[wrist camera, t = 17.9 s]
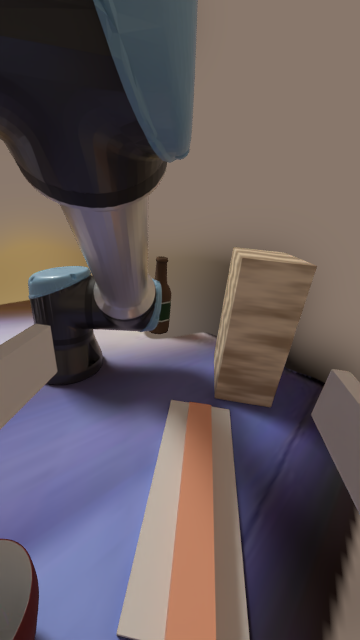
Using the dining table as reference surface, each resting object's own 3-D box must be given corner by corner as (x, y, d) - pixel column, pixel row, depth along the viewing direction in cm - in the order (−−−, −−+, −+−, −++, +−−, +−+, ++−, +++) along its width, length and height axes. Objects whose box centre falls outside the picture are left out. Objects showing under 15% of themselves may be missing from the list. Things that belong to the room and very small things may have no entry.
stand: (214, 355, 67) (233, 247, 55) (256, 361, 66) (285, 252, 54) (214, 398, 50) (242, 257, 39) (270, 407, 49) (317, 266, 38)
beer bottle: (173, 328, 81) (179, 258, 71) (161, 336, 74) (167, 260, 65) (153, 322, 83) (157, 254, 74) (141, 330, 77) (143, 256, 67)
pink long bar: (187, 417, 44) (189, 401, 43) (208, 421, 44) (211, 404, 42) (153, 739, 17) (157, 727, 15) (209, 753, 16) (218, 742, 15)
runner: (171, 401, 48) (171, 399, 48) (228, 411, 47) (229, 409, 47) (116, 635, 21) (116, 633, 21) (251, 670, 20) (252, 668, 20)
